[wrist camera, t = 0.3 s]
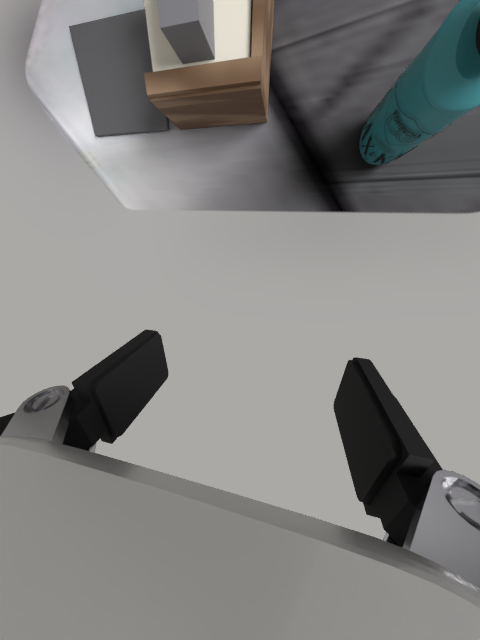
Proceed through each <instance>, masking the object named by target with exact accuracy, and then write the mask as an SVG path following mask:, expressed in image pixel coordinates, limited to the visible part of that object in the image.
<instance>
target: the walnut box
mask: <svg viewBox="0 0 480 640" xmlns="http://www.w3.org/2000/svg"><path fill="white" fill-rule="evenodd" d="M273 13H274V0H253V13H252V47H251V57H246V58H240V59H233V60H227V61H220V62H214V63H208V64H201V65H195V66H188V67H182V68H175V69H169V70H162V71H156V72H149V73H144V77H145V84H146V92H147V95H148V96H149V97H150V101H151V102H152V103H153V104H154V105H155V106H156V107H157V108H158V109H159V110H160V111H161V112H162V113H163V114H164V115H166V116H167V117H168V118H169V119H170V120H171V121H172V122H173V123H174V124H175V125H176V126H177V127H178V128H179V129H180V130H182V129H194V128H206V127H217V126H229V125H240V124H252V123H264V122H267V112H268V96H269V79H270V63H271V46H272V30H273Z"/></svg>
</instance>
